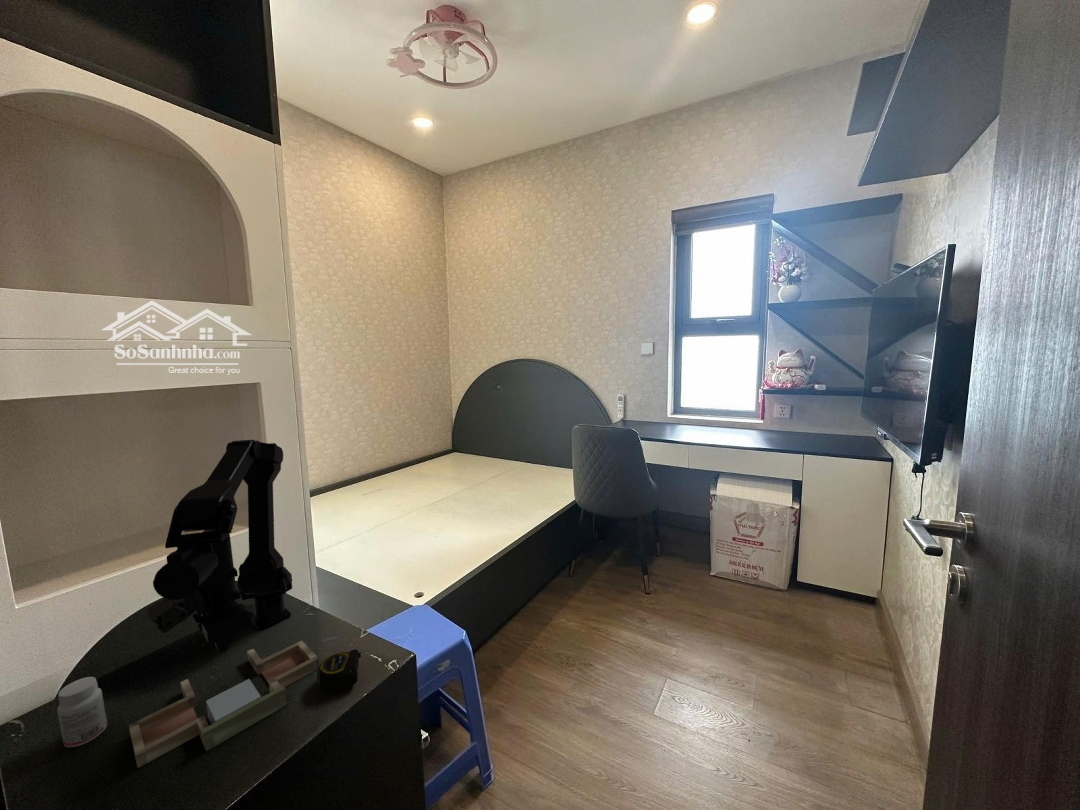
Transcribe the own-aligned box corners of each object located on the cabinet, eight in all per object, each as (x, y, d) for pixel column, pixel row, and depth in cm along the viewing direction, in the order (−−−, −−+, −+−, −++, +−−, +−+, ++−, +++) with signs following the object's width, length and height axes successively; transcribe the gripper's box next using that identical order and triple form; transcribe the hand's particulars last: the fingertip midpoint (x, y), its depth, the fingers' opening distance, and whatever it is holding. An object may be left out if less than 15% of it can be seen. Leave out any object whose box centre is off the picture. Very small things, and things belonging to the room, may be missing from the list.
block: (208, 720, 69) (205, 700, 68) (251, 697, 73) (249, 678, 73) (218, 741, 65) (215, 720, 64) (263, 715, 69) (260, 696, 69)
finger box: (126, 719, 69) (124, 702, 69) (293, 639, 88) (291, 625, 87) (142, 788, 58) (139, 769, 57) (329, 679, 76) (328, 664, 76)
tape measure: (358, 690, 74) (356, 671, 74) (314, 701, 72) (312, 681, 72) (361, 663, 80) (360, 645, 80) (322, 672, 78) (320, 654, 78)
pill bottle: (76, 727, 68) (68, 679, 67) (114, 718, 69) (106, 670, 68) (55, 753, 63) (45, 702, 62) (96, 742, 65) (87, 692, 64)
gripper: (140, 568, 72) (152, 653, 74) (158, 609, 60) (172, 709, 62) (220, 545, 80) (229, 621, 82) (250, 577, 68) (260, 666, 70)
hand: (222, 651), depth 74 cm, fingers closed
